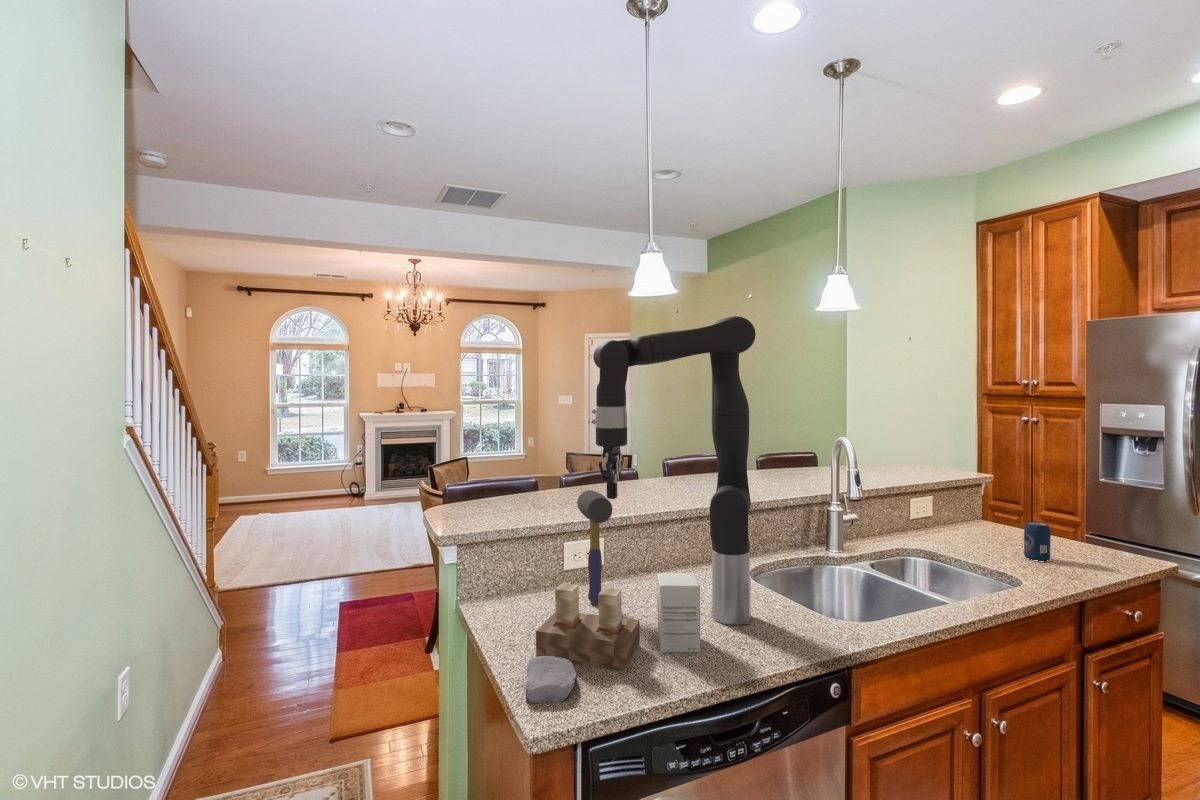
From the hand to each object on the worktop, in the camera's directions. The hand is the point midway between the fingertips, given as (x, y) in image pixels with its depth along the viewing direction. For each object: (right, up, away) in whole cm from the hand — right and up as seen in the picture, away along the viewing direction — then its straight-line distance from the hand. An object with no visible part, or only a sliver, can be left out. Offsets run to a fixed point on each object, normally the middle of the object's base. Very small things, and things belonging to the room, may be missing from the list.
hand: (612, 498), depth 138 cm
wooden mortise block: (-5, -32, -10) cm, 34 cm away
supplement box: (+15, -32, -6) cm, 36 cm away
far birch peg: (-10, -31, -8) cm, 34 cm away
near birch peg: (-1, -31, -11) cm, 33 cm away
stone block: (-12, -33, -24) cm, 43 cm away
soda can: (+141, -29, +53) cm, 153 cm away
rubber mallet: (-4, -32, +19) cm, 37 cm away
